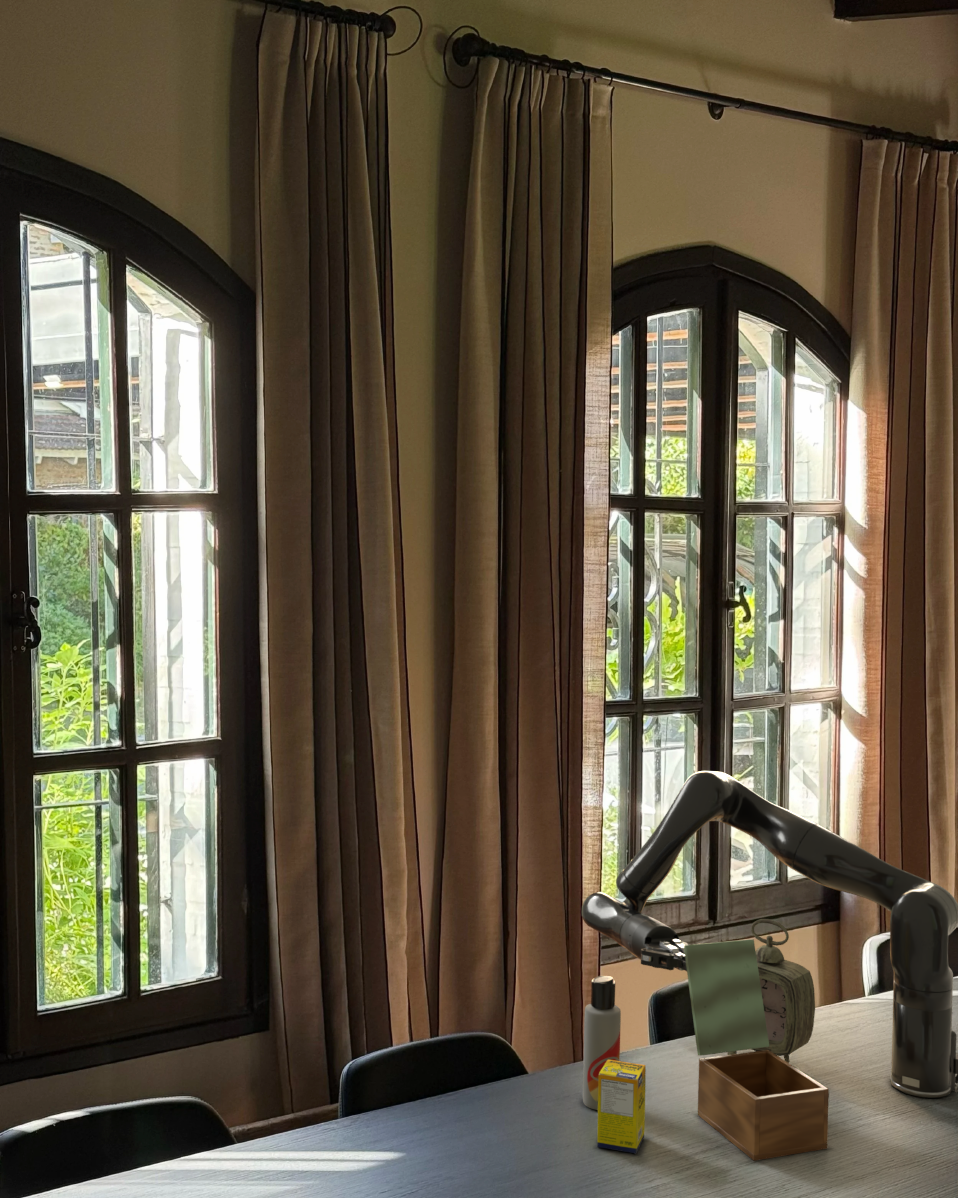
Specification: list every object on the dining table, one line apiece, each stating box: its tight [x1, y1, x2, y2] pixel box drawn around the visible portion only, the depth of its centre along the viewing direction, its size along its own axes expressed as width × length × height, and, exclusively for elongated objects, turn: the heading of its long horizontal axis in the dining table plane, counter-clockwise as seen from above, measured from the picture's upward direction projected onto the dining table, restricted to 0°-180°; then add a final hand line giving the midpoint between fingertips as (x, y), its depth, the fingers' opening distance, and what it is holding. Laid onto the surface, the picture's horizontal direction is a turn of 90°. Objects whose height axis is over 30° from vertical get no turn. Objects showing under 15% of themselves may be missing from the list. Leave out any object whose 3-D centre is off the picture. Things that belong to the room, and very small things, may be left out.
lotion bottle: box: [582, 975, 622, 1111], centre depth 187 cm, size 6×6×20 cm
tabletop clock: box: [726, 918, 816, 1064], centre depth 205 cm, size 14×9×25 cm, turn 49°
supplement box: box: [596, 1059, 647, 1154], centre depth 174 cm, size 6×6×11 cm
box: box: [697, 1050, 830, 1161], centre depth 179 cm, size 16×13×9 cm
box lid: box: [684, 938, 769, 1056], centre depth 188 cm, size 16×13×1 cm
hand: (699, 969), depth 196 cm, fingers closed
